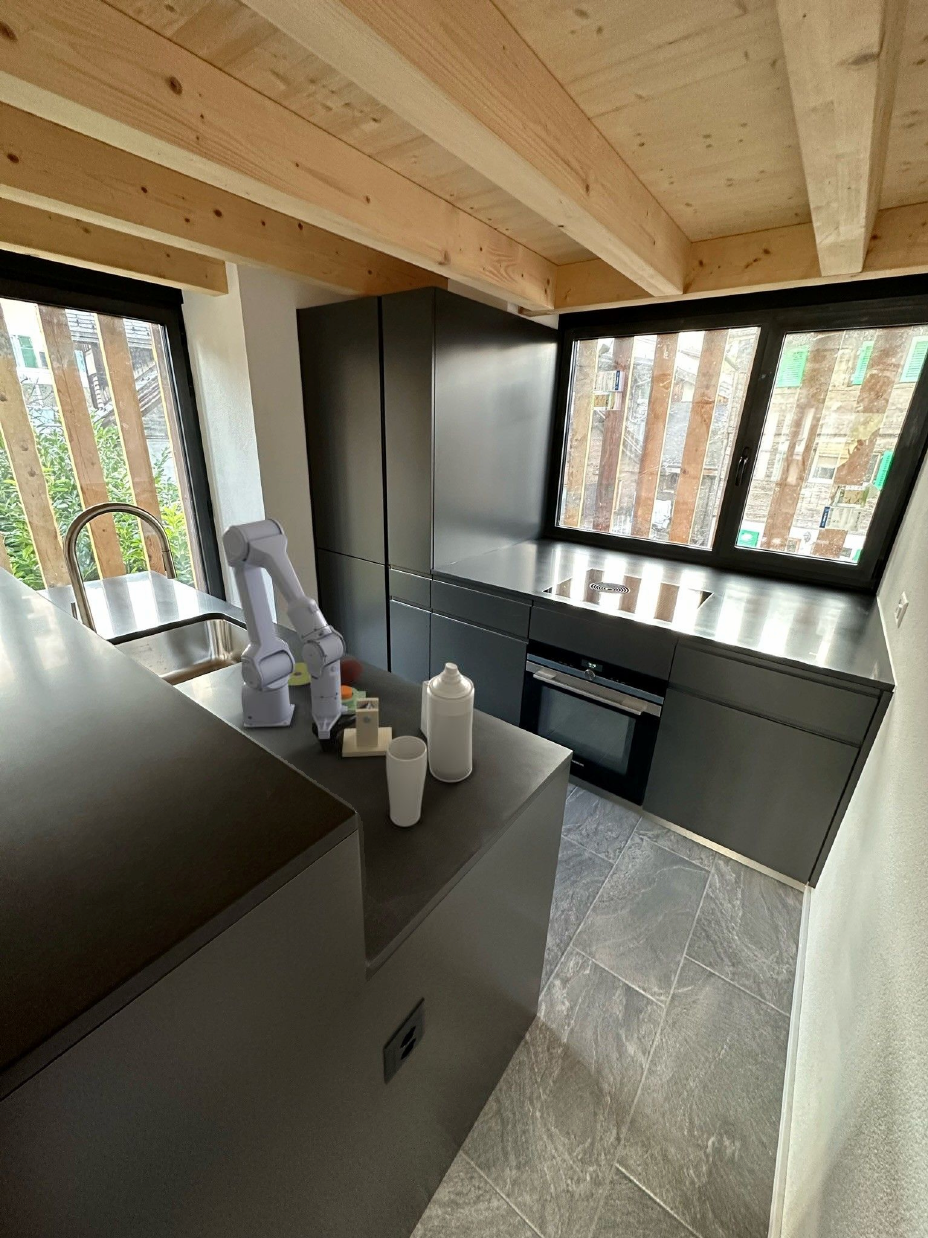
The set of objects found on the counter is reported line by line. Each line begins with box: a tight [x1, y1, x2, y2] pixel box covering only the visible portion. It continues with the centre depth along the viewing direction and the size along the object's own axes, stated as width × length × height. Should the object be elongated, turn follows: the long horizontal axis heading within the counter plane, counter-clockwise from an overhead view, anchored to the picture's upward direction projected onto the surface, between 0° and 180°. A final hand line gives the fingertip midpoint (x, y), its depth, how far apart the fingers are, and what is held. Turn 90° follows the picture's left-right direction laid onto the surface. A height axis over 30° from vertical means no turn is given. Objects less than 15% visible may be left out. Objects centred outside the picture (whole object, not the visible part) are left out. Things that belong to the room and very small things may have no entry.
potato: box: [340, 658, 363, 687], centre depth 129 cm, size 7×10×6 cm
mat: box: [288, 662, 310, 686], centre depth 130 cm, size 11×11×2 cm
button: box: [341, 686, 352, 700], centre depth 120 cm, size 4×4×2 cm
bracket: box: [341, 697, 393, 758], centre depth 106 cm, size 10×8×10 cm
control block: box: [341, 686, 367, 716], centre depth 120 cm, size 10×8×3 cm
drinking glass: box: [385, 735, 428, 828], centre depth 88 cm, size 7×7×15 cm
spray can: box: [426, 662, 475, 783], centre depth 97 cm, size 12×11×25 cm
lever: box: [336, 702, 375, 739], centre depth 106 cm, size 12×3×3 cm
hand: (329, 746), depth 107 cm, fingers closed on lever, 3 cm apart
